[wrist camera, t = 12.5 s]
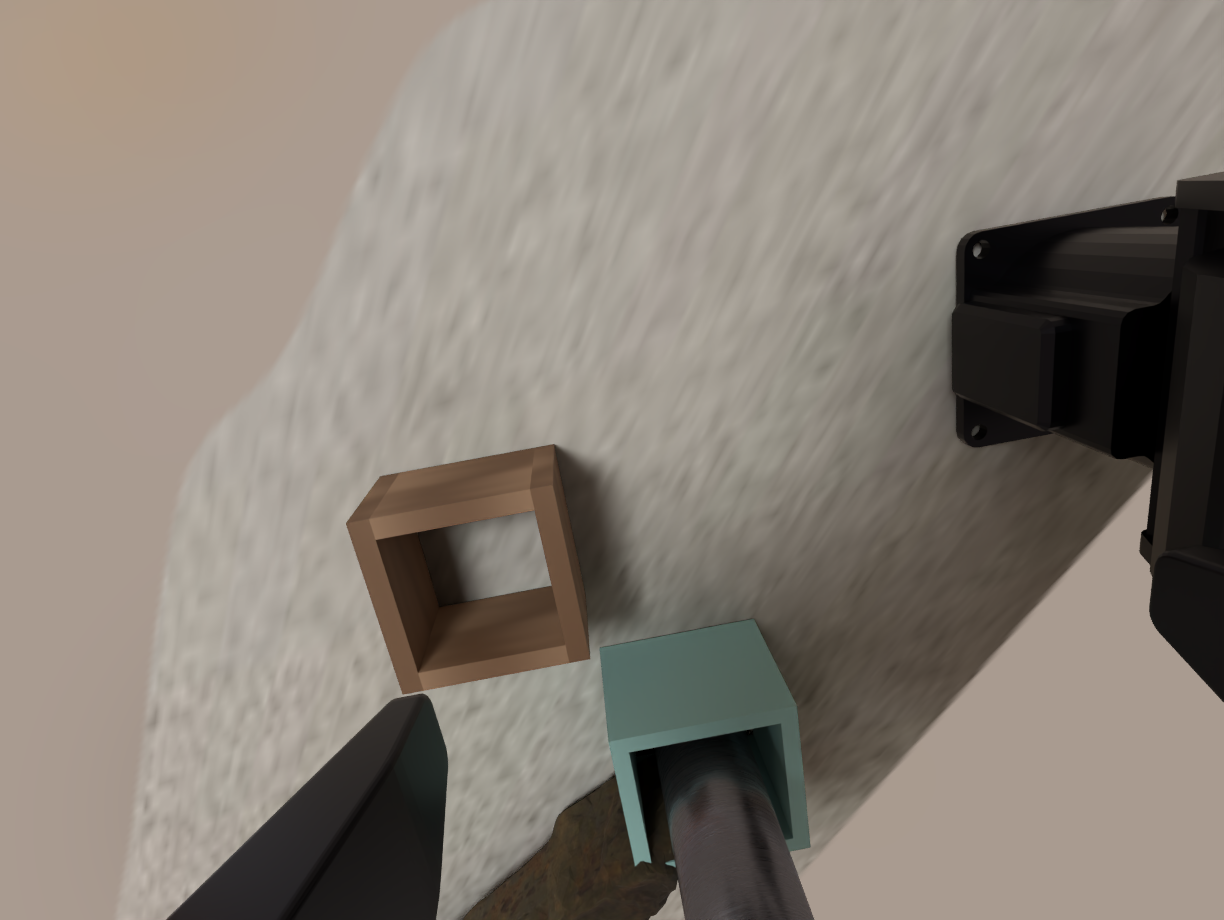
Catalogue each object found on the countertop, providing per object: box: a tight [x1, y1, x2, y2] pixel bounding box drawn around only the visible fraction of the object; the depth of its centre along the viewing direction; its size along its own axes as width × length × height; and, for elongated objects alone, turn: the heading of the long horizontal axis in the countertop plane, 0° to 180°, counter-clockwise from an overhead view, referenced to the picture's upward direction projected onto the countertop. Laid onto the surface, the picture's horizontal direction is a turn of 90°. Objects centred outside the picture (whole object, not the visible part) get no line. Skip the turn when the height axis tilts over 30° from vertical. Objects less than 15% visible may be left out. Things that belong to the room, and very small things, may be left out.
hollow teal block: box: [600, 619, 810, 868], centre depth 22 cm, size 5×5×4 cm
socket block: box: [346, 444, 590, 694], centre depth 20 cm, size 5×5×4 cm
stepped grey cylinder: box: [654, 730, 814, 920], centre depth 18 cm, size 3×3×13 cm
